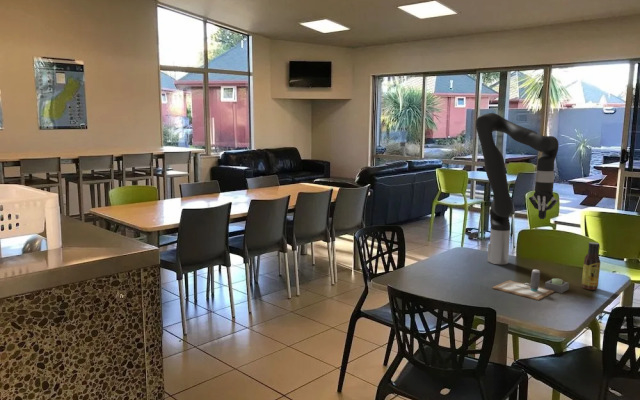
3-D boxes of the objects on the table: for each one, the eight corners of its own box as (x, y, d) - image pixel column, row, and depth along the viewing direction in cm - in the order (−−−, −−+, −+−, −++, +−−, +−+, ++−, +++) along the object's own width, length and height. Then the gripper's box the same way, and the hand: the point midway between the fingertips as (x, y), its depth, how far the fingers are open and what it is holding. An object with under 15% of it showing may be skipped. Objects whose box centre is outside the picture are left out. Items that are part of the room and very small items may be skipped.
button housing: (544, 289, 220) (545, 282, 220) (551, 285, 225) (552, 279, 224) (561, 293, 215) (561, 286, 215) (568, 289, 220) (568, 282, 219)
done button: (549, 287, 220) (550, 279, 219) (553, 285, 223) (554, 277, 222) (559, 289, 217) (560, 281, 217) (563, 287, 220) (564, 279, 219)
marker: (528, 290, 217) (530, 270, 215) (532, 288, 219) (534, 268, 217) (536, 292, 214) (538, 272, 213) (539, 290, 216) (541, 270, 215)
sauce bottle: (591, 291, 217) (595, 245, 214) (578, 287, 223) (581, 242, 220) (601, 289, 220) (605, 243, 217) (587, 285, 226) (591, 240, 223)
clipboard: (492, 288, 221) (492, 286, 221) (509, 281, 231) (509, 278, 231) (538, 300, 206) (538, 297, 206) (554, 292, 216) (554, 289, 216)
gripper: (563, 181, 230) (560, 219, 233) (533, 179, 239) (531, 215, 242) (555, 182, 225) (553, 221, 227) (526, 180, 234) (524, 217, 237)
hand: (541, 218), depth 235 cm, fingers closed
